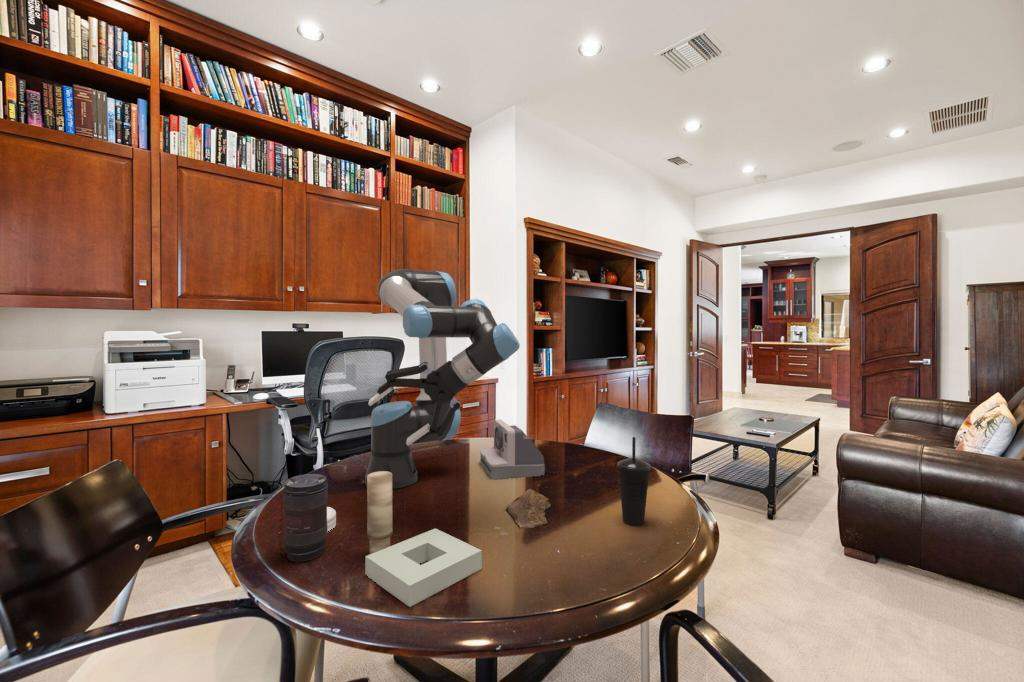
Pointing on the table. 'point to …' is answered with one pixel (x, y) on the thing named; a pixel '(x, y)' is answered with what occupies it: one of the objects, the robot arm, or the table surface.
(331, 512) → the coaster
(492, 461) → the instant camera
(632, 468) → the drinking cup
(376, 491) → the leg
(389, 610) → the table surface
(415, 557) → the board
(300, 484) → the camera lens
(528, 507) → the wooden fragment
